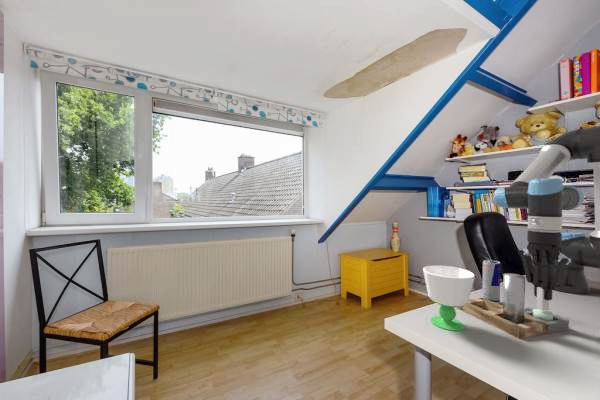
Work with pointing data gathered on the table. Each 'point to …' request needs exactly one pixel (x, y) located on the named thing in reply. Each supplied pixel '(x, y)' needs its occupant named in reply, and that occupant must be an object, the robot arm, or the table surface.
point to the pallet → (496, 319)
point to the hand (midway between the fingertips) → (542, 309)
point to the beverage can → (491, 280)
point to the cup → (448, 293)
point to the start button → (543, 315)
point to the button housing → (552, 322)
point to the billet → (514, 298)
